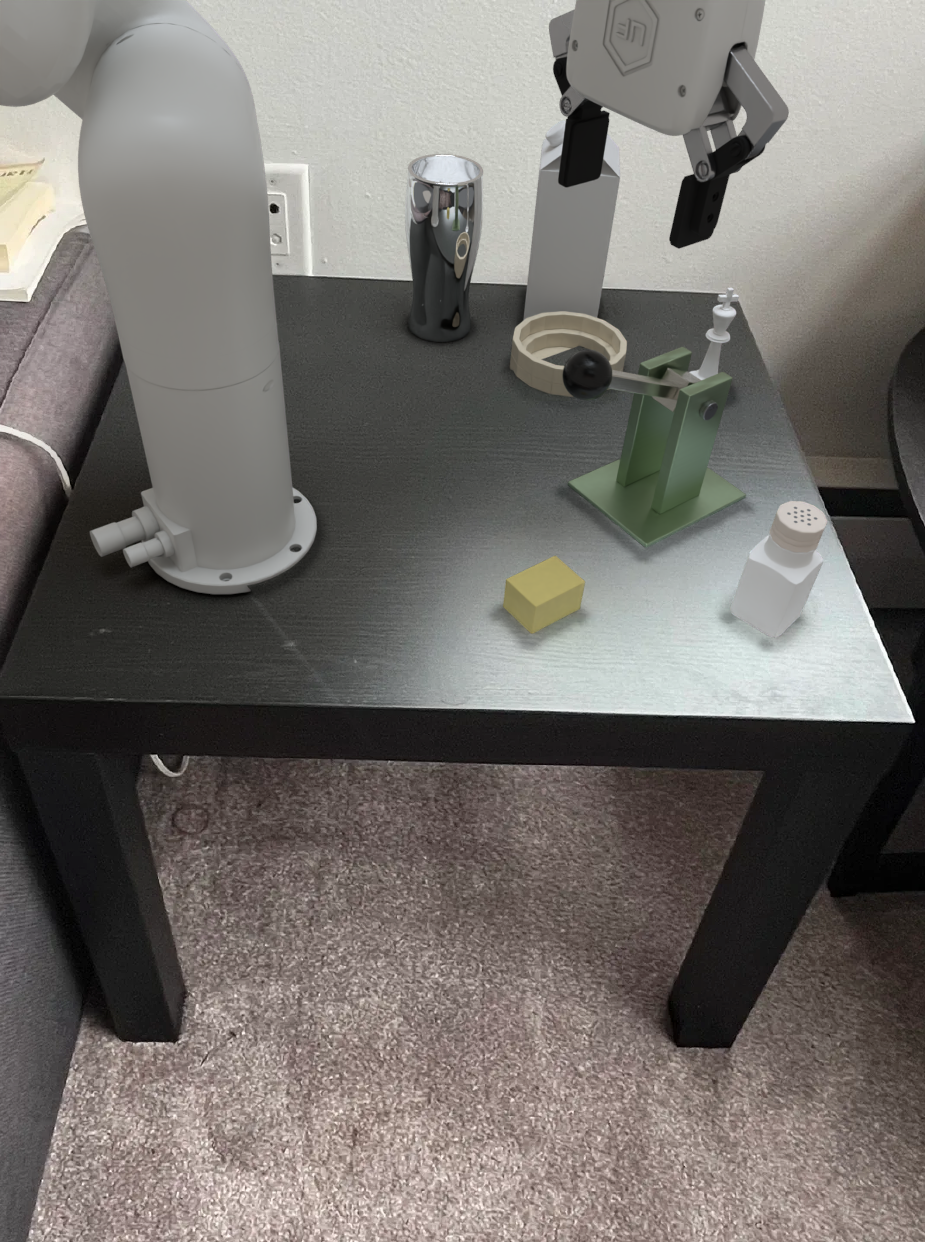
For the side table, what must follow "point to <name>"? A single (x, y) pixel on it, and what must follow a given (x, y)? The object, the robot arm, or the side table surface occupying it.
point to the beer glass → (442, 242)
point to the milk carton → (570, 233)
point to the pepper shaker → (781, 570)
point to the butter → (543, 594)
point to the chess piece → (717, 334)
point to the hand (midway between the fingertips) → (632, 210)
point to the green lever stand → (665, 459)
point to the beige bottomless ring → (561, 346)
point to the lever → (620, 380)
